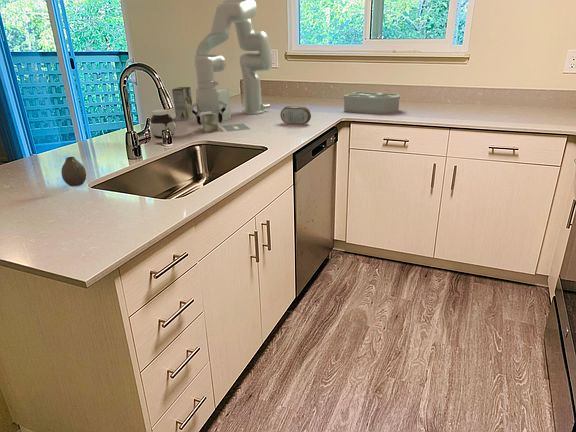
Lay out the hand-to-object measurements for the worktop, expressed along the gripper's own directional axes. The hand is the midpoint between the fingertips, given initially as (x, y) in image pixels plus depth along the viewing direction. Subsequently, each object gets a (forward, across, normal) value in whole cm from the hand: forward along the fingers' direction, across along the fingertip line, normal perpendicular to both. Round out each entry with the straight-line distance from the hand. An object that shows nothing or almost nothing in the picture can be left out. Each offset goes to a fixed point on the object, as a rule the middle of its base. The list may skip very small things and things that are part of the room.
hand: (210, 123), depth 203 cm
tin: (+4, -41, +4) cm, 41 cm away
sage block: (+3, 0, 0) cm, 3 cm away
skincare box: (+4, -10, -22) cm, 24 cm away
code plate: (+4, -12, 0) cm, 12 cm away
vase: (+4, +54, +57) cm, 79 cm away
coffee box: (+4, +7, -36) cm, 37 cm away
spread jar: (+4, +21, 0) cm, 21 cm away
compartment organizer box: (+4, -92, -9) cm, 92 cm away
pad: (+4, 0, 0) cm, 4 cm away
